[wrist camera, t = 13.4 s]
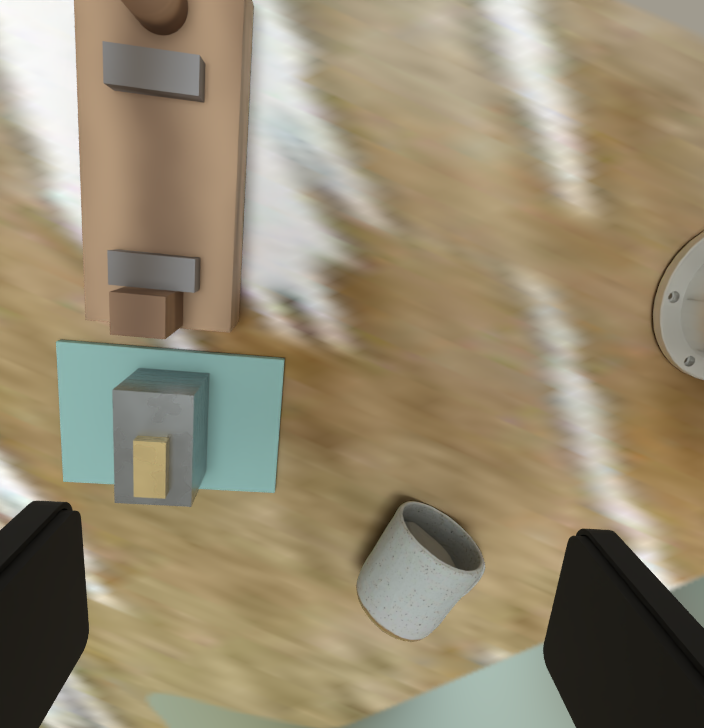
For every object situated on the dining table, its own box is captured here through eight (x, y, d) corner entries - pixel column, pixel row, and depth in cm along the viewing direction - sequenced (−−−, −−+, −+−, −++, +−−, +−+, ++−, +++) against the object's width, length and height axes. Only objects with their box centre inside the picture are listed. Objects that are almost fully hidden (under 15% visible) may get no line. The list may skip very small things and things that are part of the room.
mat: (284, 358, 37) (284, 360, 36) (275, 488, 40) (274, 492, 39) (60, 339, 35) (56, 341, 35) (67, 477, 38) (63, 481, 38)
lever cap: (209, 373, 36) (190, 400, 31) (206, 471, 38) (188, 513, 33) (139, 367, 36) (107, 393, 30) (139, 467, 38) (109, 509, 32)
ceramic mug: (346, 564, 42) (354, 637, 35) (391, 487, 41) (411, 546, 33) (449, 604, 45) (478, 680, 37) (496, 533, 43) (536, 597, 36)
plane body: (253, 6, 31) (234, -67, 23) (238, 321, 36) (219, 347, 28) (102, -18, 30) (30, -102, 22) (110, 309, 35) (53, 333, 27)
